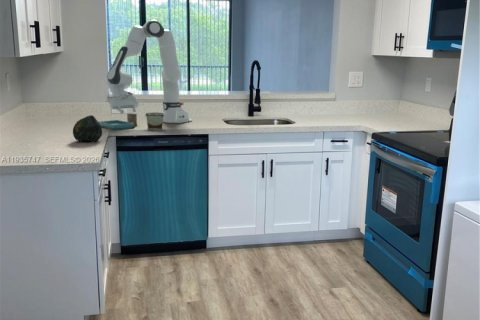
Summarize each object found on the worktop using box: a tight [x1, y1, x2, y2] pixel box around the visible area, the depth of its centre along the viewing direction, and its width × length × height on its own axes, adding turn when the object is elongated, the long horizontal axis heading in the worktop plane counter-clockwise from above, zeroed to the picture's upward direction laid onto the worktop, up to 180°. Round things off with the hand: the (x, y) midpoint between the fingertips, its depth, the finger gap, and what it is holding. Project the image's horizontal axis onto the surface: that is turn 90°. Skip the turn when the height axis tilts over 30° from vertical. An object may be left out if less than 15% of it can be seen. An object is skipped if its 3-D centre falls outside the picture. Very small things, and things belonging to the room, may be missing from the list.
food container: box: [145, 111, 164, 130], centre depth 299 cm, size 12×6×10 cm, turn 84°
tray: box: [98, 119, 135, 131], centre depth 300 cm, size 14×20×3 cm
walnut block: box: [126, 112, 138, 127], centre depth 308 cm, size 4×4×8 cm
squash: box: [72, 115, 103, 142], centre depth 250 cm, size 14×15×15 cm
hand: (128, 112), depth 309 cm, fingers open, 8 cm apart
